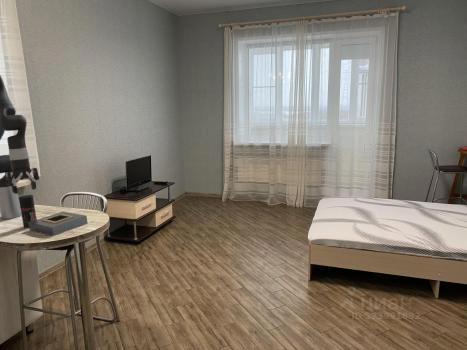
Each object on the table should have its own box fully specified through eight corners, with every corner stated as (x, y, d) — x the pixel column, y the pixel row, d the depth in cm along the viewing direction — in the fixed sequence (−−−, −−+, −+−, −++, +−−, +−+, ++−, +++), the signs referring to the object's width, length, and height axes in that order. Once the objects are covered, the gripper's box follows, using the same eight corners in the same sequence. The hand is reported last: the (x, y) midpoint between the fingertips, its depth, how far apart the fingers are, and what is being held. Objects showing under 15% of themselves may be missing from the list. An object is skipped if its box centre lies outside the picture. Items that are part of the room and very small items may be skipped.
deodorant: (31, 228, 165) (26, 198, 162) (20, 227, 166) (15, 198, 163) (40, 224, 171) (35, 194, 168) (30, 223, 172) (25, 194, 169)
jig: (29, 230, 162) (28, 221, 161) (64, 218, 178) (63, 210, 177) (53, 235, 154) (51, 226, 153) (87, 223, 169) (86, 214, 168)
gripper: (29, 155, 170) (34, 187, 173) (-2, 160, 158) (5, 194, 161) (38, 156, 166) (43, 188, 169) (7, 160, 154) (14, 195, 157)
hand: (25, 191), depth 165 cm, fingers open, 8 cm apart
